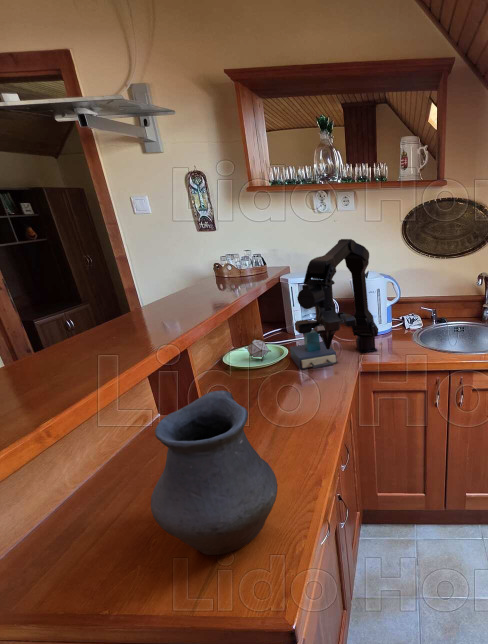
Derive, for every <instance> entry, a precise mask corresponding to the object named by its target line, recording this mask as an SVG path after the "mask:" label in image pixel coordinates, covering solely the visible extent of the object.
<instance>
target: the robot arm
mask: <svg viewBox="0 0 488 644" xmlns="http://www.w3.org/2000/svg"><path fill="white" fill-rule="evenodd" d="M343 260H344V262H345V267H346V268H347V270H348V272H350V274H351V281H352V283H351V284H352V291H353V292H352V293H353V301H354V310H355V311H354V313H353V315H352V314H351V313H346V312H345V311H340V312H337V311H336V307H335V305H334V293H333V292H334V291H333V285H335V284H336V283H335V281H334V280H333V278H334V276H335V275H336V273H337V267H338V266H339V264H341V263H342V261H343ZM369 262H370V251H369V249H367V248H366V246H364V245H362V244H361V243H358V242H356V241H355V240H354V239H352V238H340V239H338V241H337V243H335V245H334V246H333V247H332V248H331V249H329V250H328V251H327V252H326V253H325V254H324V255H321V256H317V257H314V258H313V259H311V260H310V261H309V262H308V265H307V268H306V272H305V275H304V279H303V284H302V286H301V288H302V289H301V290H299V292H298V294H297V297H296V298H297V302H298V304H299V306H300V307H301V308H303V309H304V310H310V309H312V308H315V320H316V321H309V320H308V319H301V320H296V321H295V322H294V330H295V331H296V332H297V333H298V334H300V335H304V333H310V332H311V330H312V329H313V330H314V331H315V332H317V333H319V338H321V342H323V343H324V345H325V347H326V349H330V347H331V345H332V342H333V338H334V336H335V334H336V333H337V332H338V331H340V330H341V325H345V326H346V327H347V328H349V327H351V330H352V334H353V336H355V337H357V338H356V339H355V346H356V347H355V349H356V350H357V351H359V353H361V354H366V353H371V352H372V353H373V352H377V351H378V349H377V348H376V337H378V336H379V335H378V334H379V327H378V326H377V324H376V323H375V320H374V315H373V314H372V313H371V311H370V310H369V302H368V293H367V291H368V290H367V279H366V270H367V267H368V266H369Z"/></svg>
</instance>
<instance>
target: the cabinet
mask: <svg viewBox="0 0 488 644" xmlns="http://www.w3.org/2000/svg"><path fill="white" fill-rule="evenodd" d="M289 349H290V358H291V359H292V361H293V362H294V363H295V365H296V366H297V367H298V368H299V370H307V369H311V368H312V369H313V366H312V367H306V368H302V363H301V360H303V359H309V358H315V357H320V356H326V355H334V354H335V355H336V356H337V352H336V351H335V349H333V348H332V347H331V346H330V349H326V347H325V345H324V343H323V341H320V350H317V351H311V352H308V351H307V350H306V349H305V344H301V345H294V346H290V347H289ZM337 362H338V361H337V359H336V362H333V365H334V364H337Z"/></svg>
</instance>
